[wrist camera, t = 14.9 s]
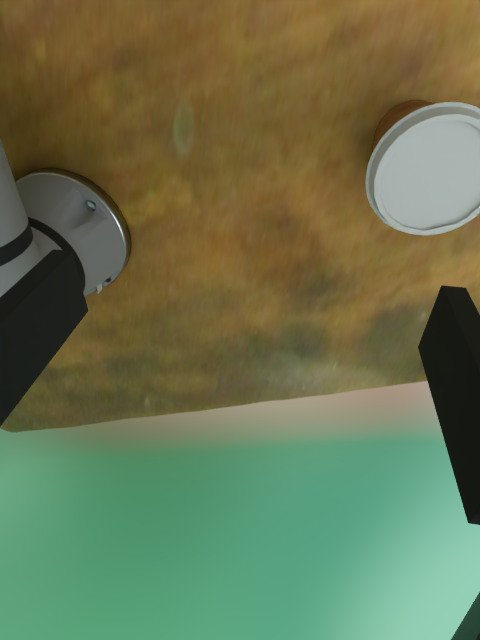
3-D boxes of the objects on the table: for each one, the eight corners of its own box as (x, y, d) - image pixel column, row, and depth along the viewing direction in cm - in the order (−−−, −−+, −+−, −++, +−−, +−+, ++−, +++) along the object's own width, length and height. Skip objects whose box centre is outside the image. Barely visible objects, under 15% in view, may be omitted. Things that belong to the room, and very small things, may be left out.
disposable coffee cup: (342, 175, 41) (348, 225, 32) (378, 68, 35) (399, 90, 26) (434, 196, 41) (467, 253, 32) (486, 92, 35) (545, 124, 26)
